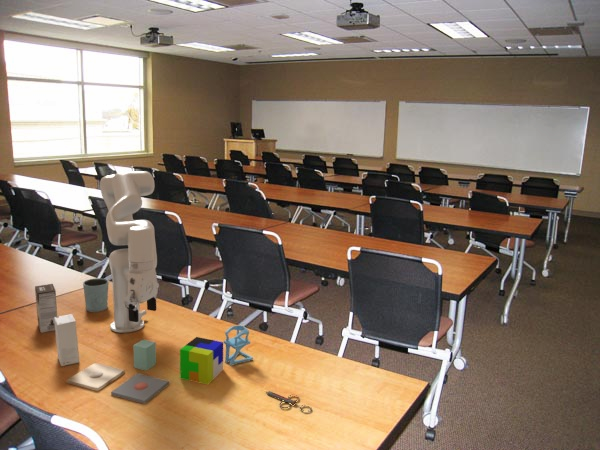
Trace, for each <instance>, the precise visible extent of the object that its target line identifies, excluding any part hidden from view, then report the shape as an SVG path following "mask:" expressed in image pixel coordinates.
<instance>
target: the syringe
mask: <svg viewBox="0 0 600 450" xmlns="http://www.w3.org/2000/svg"><path fill="white" fill-rule="evenodd" d="M261 391H262V392H263V391H264V390H263V389H262V390H261ZM267 393H268V394H267ZM265 394H267V395H268V396H269V395H270V396H269V397H271V396H273V397H272V398H274V397H276V398H279V399H281V400H284V401H281V400H280V401H281V402H279V405H280V406H279V407H280V408H281V407H282V408H288V407H290V408H291V406H292V405H294V404H295V403H297V402H298V401H297V400H298V399H299V400H300V396H298V395H297V394H295V395H296V396H298V398H297V399H296V400H293V399H290V397H289V396H291V395H292V394H291V395H289V396H287V397H285V396H283V395H281V394H278V393H276V392H273V391H270V390H268V391H265ZM276 398H275V399H276ZM296 401H297V402H296ZM282 402H288V403H291V404H292V405H291V404H289V406H282V404H283V403H282ZM281 403H282V404H281ZM288 403H287V404H288ZM290 405H291V406H290ZM303 405H304V404H303ZM303 405H301V406H303ZM282 408H281V409H282ZM288 409H289V408H288ZM299 409H301V410H303V409H302V408H301V407H300V406H299ZM301 410H300V411H301ZM309 410H311V411H312V408H309Z"/></svg>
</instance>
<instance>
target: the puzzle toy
mask: <svg viewBox="0 0 600 450" xmlns="http://www.w3.org/2000/svg"><path fill="white" fill-rule="evenodd" d="M179 371H180V372H179V373H180V374H179V375H180V376H179V377H180V379H182V380H186V381H192V382H196V383H200V384H204V385H209V384H210V383H211V382H212V381H214V379H216V377H218V375H220V374H221V372H222V371H224V341H219V340H214V339H208V338H204V337H201V336H200V337H199V336H196V337H195V338H193V339H191V340H190V341H189V342H188V343H186V344H185V345H184V346H183V347H181V348H179Z"/></svg>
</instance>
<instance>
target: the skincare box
mask: <svg viewBox="0 0 600 450" xmlns="http://www.w3.org/2000/svg"><path fill="white" fill-rule="evenodd" d="M76 322H77V321H76V319H75V317H74V315H73V313H70V314H64V315H59V316H58V315H57V317H54V323H55V330H54V332H55V333H54V334H55V341H56V350H57V352H56V354H57V358H58V361H59V364H60V366H61V367H64V366H68V365H75V364H79V363H80V361H81V360H80V354H79V353H80V352H79V343H78V333H77V323H76Z"/></svg>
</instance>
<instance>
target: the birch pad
mask: <svg viewBox="0 0 600 450" xmlns="http://www.w3.org/2000/svg"><path fill="white" fill-rule="evenodd" d="M125 372H126V371H125V369H122V368H118V367H114V366H109V365H105V364H101V363H97V362H94V363H93V364H91V365H88V366H87V367H86V368H84V369H82V370H80V371H79V372H77V373H76V374H74V375H73V376H71V377H69V378H68V379H66V384H69V385H73V386H77V387H80V388H84V389H89V390H92V391H94V392H95V391H96V392H99V391H100V390H102V389H103V388H105V387H106V386H108V385H109V384H111V383H112V382H114V381H115V380H117V379H118V378H119V377H121V376H122V375H124V374H125Z"/></svg>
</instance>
